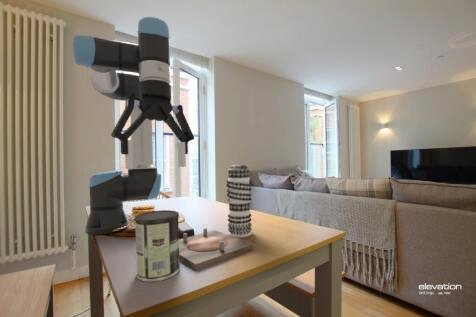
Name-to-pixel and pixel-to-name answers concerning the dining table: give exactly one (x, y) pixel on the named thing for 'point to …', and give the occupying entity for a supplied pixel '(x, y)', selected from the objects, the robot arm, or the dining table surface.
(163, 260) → the coffee can
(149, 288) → the dining table surface
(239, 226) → the decorative candle
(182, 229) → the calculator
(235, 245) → the pin board
